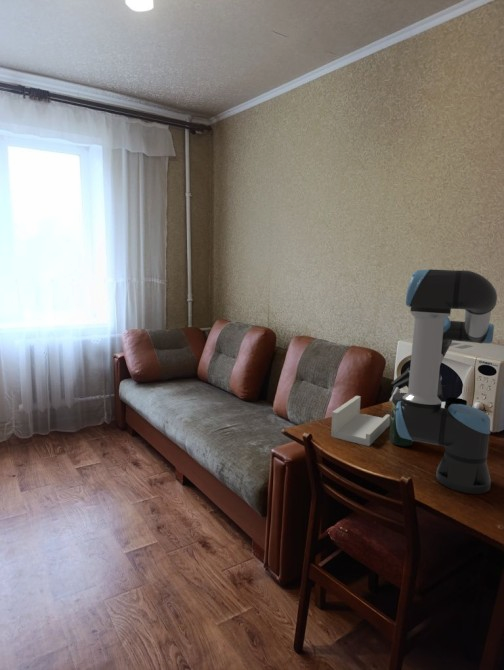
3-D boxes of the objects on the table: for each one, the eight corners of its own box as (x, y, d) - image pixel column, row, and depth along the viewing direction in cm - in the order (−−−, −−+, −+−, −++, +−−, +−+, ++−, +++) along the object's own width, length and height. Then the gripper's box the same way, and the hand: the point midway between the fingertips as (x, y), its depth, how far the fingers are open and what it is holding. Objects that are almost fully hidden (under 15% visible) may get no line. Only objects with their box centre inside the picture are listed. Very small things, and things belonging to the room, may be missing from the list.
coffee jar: (415, 447, 158) (419, 399, 155) (393, 446, 159) (396, 398, 156) (407, 437, 168) (411, 391, 165) (387, 436, 168) (390, 390, 165)
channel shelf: (369, 446, 159) (370, 420, 157) (330, 436, 167) (332, 411, 165) (389, 425, 180) (391, 402, 179) (354, 417, 188) (356, 395, 187)
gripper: (464, 374, 164) (442, 421, 157) (403, 362, 183) (381, 403, 176) (459, 362, 160) (436, 410, 153) (398, 352, 179) (375, 393, 171)
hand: (407, 406), depth 164 cm, fingers open, 13 cm apart
